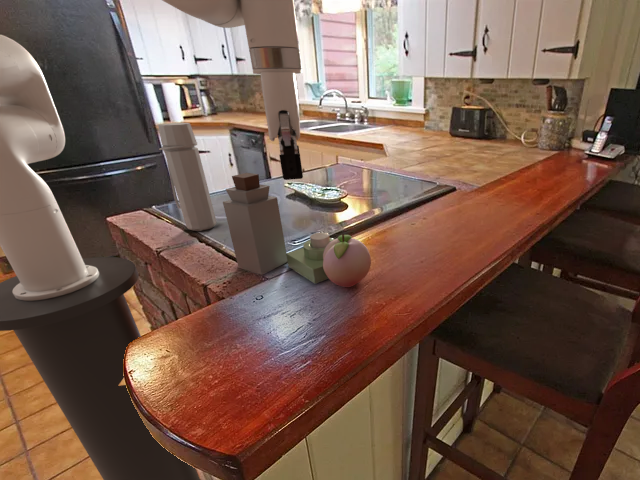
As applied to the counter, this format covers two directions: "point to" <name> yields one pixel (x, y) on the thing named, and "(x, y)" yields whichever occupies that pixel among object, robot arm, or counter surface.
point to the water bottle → (187, 175)
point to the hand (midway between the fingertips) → (293, 173)
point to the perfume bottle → (254, 225)
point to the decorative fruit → (346, 261)
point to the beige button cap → (319, 240)
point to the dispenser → (308, 262)
